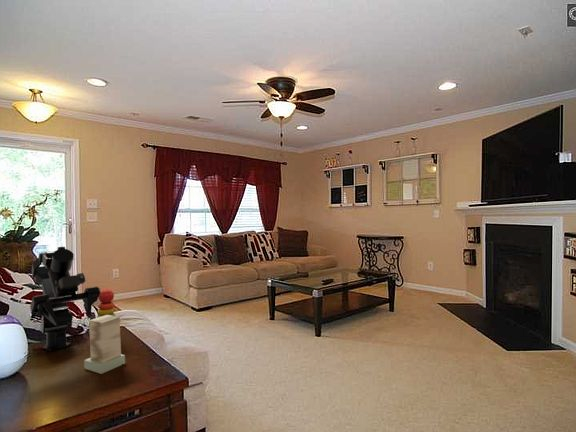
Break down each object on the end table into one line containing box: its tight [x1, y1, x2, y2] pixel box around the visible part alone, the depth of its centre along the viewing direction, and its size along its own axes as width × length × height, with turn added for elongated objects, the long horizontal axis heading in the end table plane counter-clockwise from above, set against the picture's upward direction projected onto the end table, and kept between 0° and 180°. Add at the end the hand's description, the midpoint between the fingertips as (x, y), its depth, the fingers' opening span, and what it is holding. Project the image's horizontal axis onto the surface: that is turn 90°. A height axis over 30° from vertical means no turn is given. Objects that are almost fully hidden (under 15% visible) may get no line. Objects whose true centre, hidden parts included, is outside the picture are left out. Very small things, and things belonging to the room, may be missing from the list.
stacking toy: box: [96, 289, 116, 318], centre depth 131 cm, size 8×8×19 cm
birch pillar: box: [88, 315, 122, 363], centre depth 110 cm, size 6×6×12 cm
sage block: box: [83, 353, 126, 375], centre depth 110 cm, size 8×8×3 cm
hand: (73, 321), depth 111 cm, fingers open, 9 cm apart
